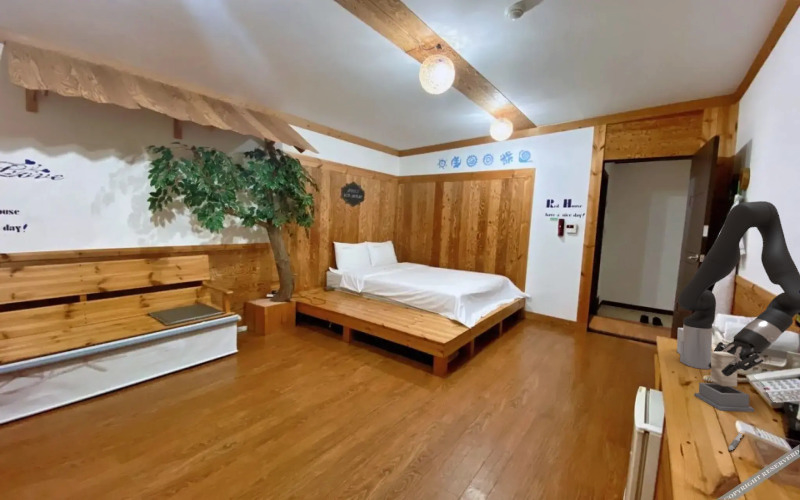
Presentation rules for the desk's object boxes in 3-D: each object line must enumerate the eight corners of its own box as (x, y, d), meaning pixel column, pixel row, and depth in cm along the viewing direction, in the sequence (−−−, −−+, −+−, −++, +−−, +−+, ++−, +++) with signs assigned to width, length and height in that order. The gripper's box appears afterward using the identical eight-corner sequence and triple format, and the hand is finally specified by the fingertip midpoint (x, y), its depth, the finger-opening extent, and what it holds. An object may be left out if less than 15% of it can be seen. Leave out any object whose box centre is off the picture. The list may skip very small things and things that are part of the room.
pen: (745, 436, 91) (745, 431, 91) (732, 454, 84) (732, 449, 84) (740, 434, 92) (740, 429, 92) (726, 452, 85) (727, 447, 85)
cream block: (710, 380, 111) (711, 351, 111) (724, 380, 110) (725, 351, 110) (722, 386, 106) (722, 355, 106) (737, 386, 106) (737, 356, 106)
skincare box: (681, 355, 154) (681, 329, 153) (676, 351, 158) (676, 327, 157) (697, 356, 152) (697, 330, 151) (691, 353, 156) (692, 328, 156)
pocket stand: (694, 395, 114) (694, 381, 114) (725, 396, 113) (725, 382, 113) (720, 410, 104) (720, 395, 104) (753, 411, 103) (754, 396, 103)
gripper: (728, 322, 114) (691, 355, 116) (771, 334, 100) (728, 371, 102) (744, 337, 114) (707, 370, 115) (789, 351, 100) (746, 388, 101)
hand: (717, 371), depth 108 cm, fingers closed on cream block, 4 cm apart
